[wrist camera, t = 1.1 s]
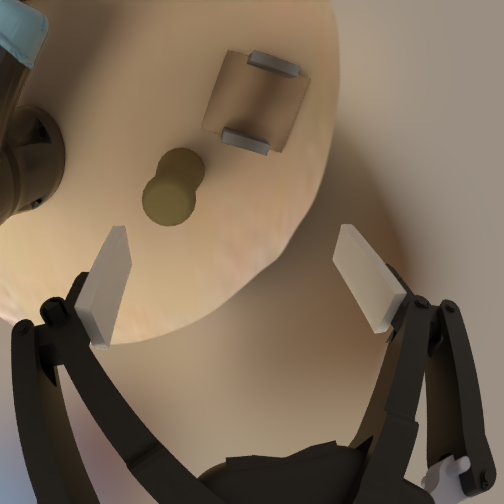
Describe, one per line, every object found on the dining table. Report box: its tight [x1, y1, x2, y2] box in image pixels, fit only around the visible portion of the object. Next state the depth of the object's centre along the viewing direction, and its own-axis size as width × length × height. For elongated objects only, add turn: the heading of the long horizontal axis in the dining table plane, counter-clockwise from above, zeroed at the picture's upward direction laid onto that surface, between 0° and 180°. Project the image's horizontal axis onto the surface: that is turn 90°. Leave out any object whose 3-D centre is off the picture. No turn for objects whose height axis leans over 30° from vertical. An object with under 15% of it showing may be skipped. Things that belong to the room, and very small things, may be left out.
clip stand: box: [201, 50, 310, 156], centre depth 27 cm, size 10×10×5 cm
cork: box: [142, 148, 204, 226], centre depth 28 cm, size 6×6×11 cm
